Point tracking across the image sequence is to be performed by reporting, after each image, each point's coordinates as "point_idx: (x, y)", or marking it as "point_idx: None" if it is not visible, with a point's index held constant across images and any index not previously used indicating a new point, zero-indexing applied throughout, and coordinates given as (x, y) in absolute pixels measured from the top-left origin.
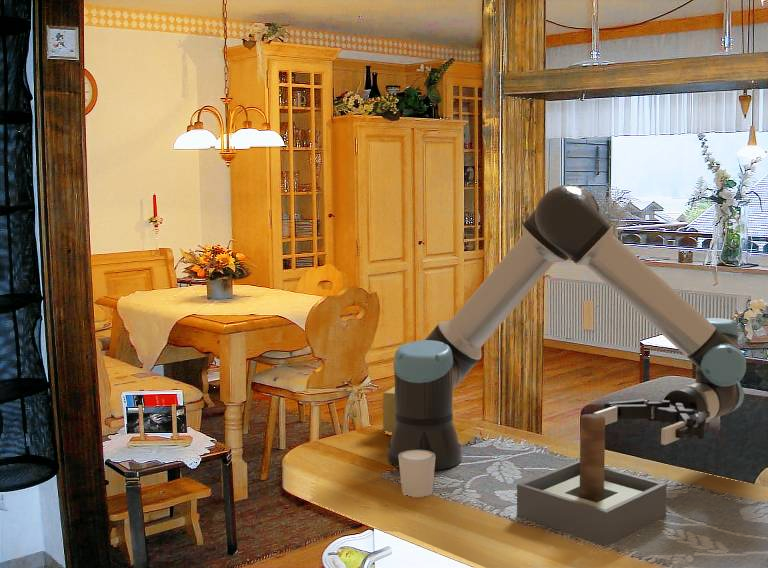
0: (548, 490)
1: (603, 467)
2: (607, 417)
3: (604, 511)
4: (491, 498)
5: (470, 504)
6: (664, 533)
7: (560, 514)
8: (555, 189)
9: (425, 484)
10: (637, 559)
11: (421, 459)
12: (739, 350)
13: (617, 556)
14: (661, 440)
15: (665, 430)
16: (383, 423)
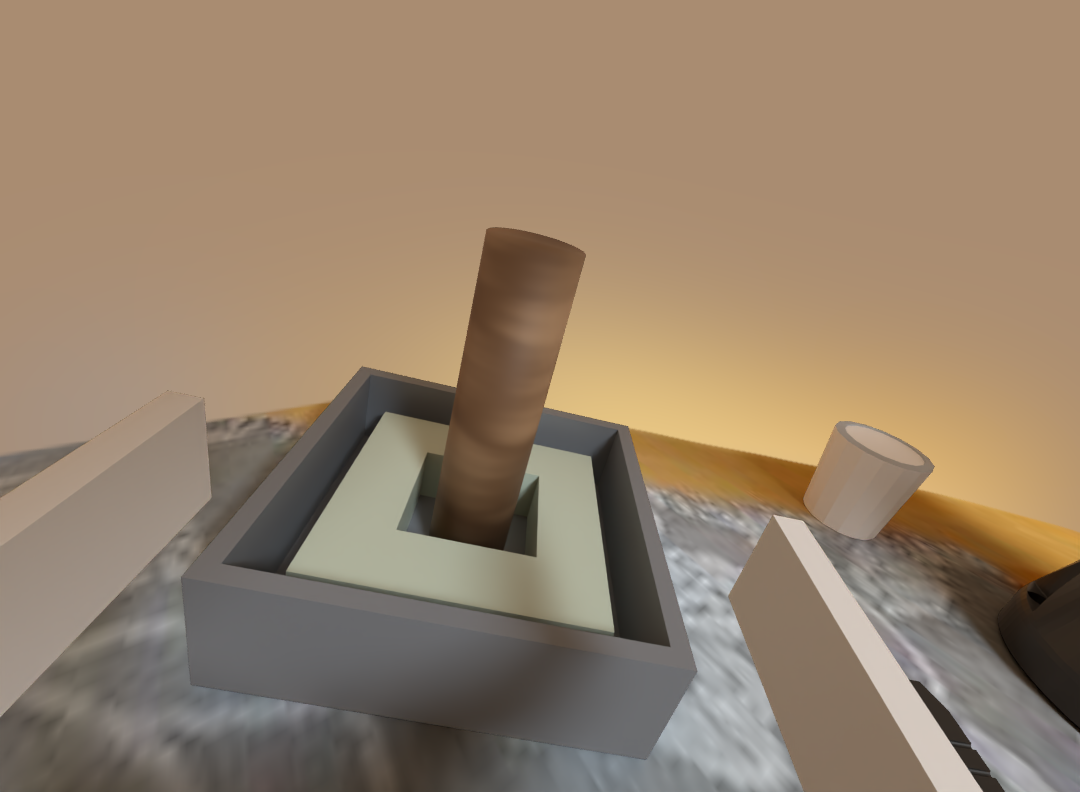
0: (581, 475)
1: (451, 415)
2: (811, 689)
3: (368, 368)
4: (728, 547)
5: (718, 504)
6: (201, 539)
7: None
8: None
9: (814, 479)
10: (271, 416)
11: (844, 427)
12: None
13: (318, 416)
14: (206, 476)
15: (168, 396)
16: None
